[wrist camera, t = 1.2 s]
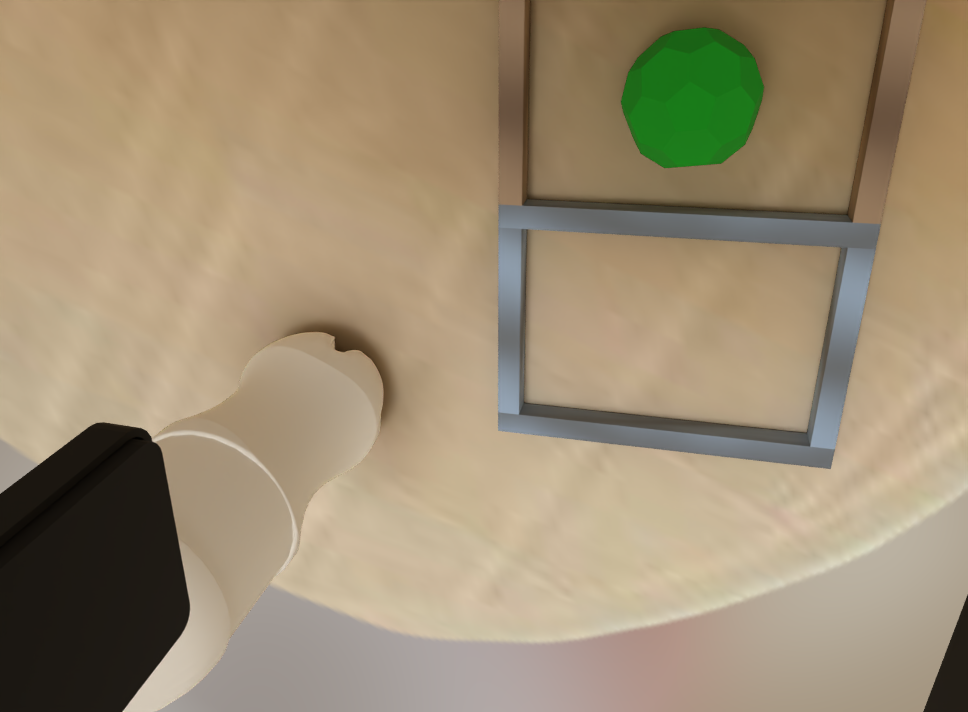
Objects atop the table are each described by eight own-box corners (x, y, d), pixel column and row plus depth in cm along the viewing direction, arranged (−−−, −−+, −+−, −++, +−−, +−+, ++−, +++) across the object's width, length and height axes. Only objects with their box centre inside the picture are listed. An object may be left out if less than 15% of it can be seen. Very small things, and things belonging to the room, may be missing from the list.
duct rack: (506, -60, 31) (499, -62, 29) (931, -70, 27) (941, -73, 26) (503, 419, 39) (498, 430, 38) (826, 454, 36) (830, 469, 35)
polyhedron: (604, 116, 32) (590, 134, 28) (673, 0, 30) (669, 0, 26) (708, 180, 32) (709, 207, 28) (785, 69, 30) (799, 81, 26)
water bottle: (420, 363, 39) (61, 843, 17) (368, 466, 42) (10, 980, 20) (294, 291, 39) (-229, 676, 17) (251, 400, 42) (-232, 840, 20)
